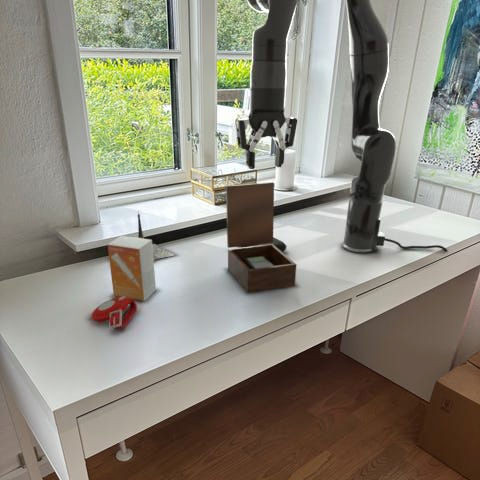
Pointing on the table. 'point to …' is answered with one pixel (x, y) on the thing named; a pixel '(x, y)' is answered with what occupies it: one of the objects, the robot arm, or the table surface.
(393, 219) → the table surface
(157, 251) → the eiffel tower figurine
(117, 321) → the tracker holder
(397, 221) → the table surface
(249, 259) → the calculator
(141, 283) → the small box
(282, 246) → the carrying case
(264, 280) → the case
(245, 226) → the cover
